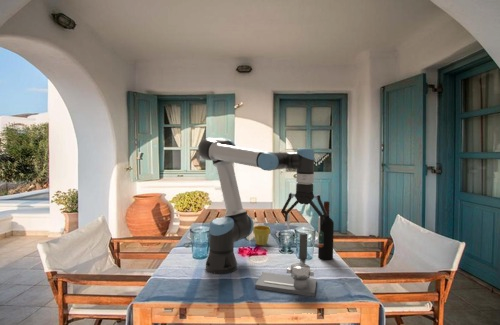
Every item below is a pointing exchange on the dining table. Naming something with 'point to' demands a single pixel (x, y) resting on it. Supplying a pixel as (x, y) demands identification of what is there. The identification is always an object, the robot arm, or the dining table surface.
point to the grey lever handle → (301, 262)
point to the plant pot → (261, 234)
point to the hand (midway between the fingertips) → (303, 230)
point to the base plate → (286, 284)
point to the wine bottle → (326, 236)
